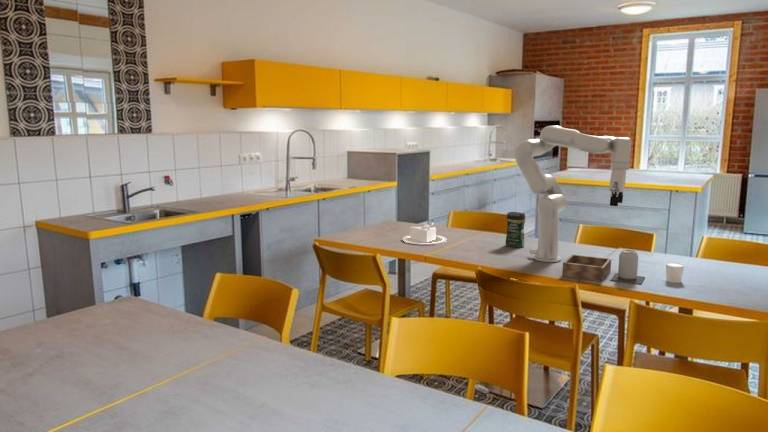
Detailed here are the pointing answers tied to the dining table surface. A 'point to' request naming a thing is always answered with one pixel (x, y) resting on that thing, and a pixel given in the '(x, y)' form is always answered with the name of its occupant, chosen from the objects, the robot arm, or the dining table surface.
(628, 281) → the mat
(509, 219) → the coffee jar
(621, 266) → the can
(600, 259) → the crate
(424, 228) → the dish
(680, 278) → the shot glass
